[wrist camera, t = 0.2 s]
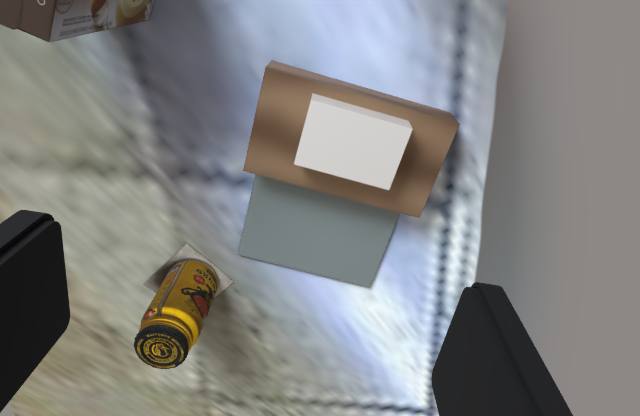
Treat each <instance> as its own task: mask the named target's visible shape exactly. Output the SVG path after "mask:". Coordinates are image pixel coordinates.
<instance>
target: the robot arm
mask: <svg viewBox="0 0 640 416" xmlns="http://www.w3.org/2000/svg"><path fill="white" fill-rule="evenodd" d="M69 320H70V308H69V299H68V289H67V280H66V270H65V260H64V251H63V241H62V232H61V226H60V224H59V223H58V222H56V221H54V218H53V217H52V215H50V214H47V213H41V212H34V211H28V210H20V211H18V212H16V213H15V214H14V215H12V216H11V217H9V218H8V219H6V220H5V221H4V222H2V223H1V224H0V412H1V411H2V410H3V408H4V407H5V406H6V405H7V403H8V402H9V401H10V400H11V398H12V397H13V396H14V395H15V393H16V392H17V391H18V390H19V388H20V387H21V386H22V385H23V383H24V382H25V381H26V380H27V378H28V377H29V376H30V374H31V373H32V372H33V371H34V369H35V368H36V367H37V366H38V364H39V363H40V362H41V361H42V359H43V358H44V357H45V356H46V354H47V353H48V352H49V351H50V349H51V348H52V347H53V345H54V344H55V343H56V342H57V340H58V339H59V338H60V337H61V335H62V334H63V333H64V332H65V330H66V328H67V326H68V324H69ZM432 387H433V391H434V395H435V399H436V404H437V408H438V412H439V416H573V415H572V413H571V411H570V409H569V408H568V406H567V404H566V402H565V400H564V398H563V397H562V395H561V393H560V391H559V389H558V387H557V386H556V384H555V382H554V380H553V378H552V377H551V375H550V373H549V371H548V370H547V368H546V366H545V364H544V362H543V361H542V359H541V357H540V355H539V353H538V351H537V349H536V348H535V346H534V344H533V342H532V340H531V339H530V337H529V335H528V333H527V331H526V330H525V328H524V326H523V324H522V322H521V321H520V319H519V317H518V315H517V313H516V311H515V310H514V308H513V306H512V304H511V302H510V301H509V299H508V297H507V295H506V293H505V292H504V290H503V288H502V287H501V286H497V285H491V284H485V283H478V282H476V283H474V284H473V285H472V286H471V287H466V288H465V289H464V290H463V292H462V295H461V297H460V300H459V303H458V305H457V308H456V310H455V313H454V316H453V318H452V321H451V324H450V326H449V329H448V332H447V334H446V337H445V339H444V342H443V345H442V347H441V350H440V353H439V355H438V358H437V360H436V363H435V366H434V368H433V372H432Z"/></svg>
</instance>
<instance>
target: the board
mask: <svg viewBox="0 0 640 416" xmlns="http://www.w3.org/2000/svg"><path fill="white" fill-rule="evenodd" d="M313 93H314V94H317V95H321V96H324V97H328V98H331V99H335V100H338V101H341V102H345V103H348V104H352V105H355V106H359V107H362V108H366V109H369V110H373V111H376V112H380V113H383V114H387V115H390V116H393V117H397V118H400V119H404V120H407V121H409V123H410V124H411V126H412V128H413V130H412V132H411V135H410V137H409V140H408V143H407V145H406V148H405V150H404V153H403V156H402V158H401V161H400V163H399V166H398V169H397V171H396V174H395V176H394V179H393V182H392V184H391V187H390V189H389V190H386V189H382V188H379V187H375V186H371V185H368V184H364V183H360V182H357V181H353V180H349V179H346V178H342V177H338V176H335V175H331V174H327V173H324V172H320V171H316V170H313V169H309V168H305V167H302V166H298V165H294V161H295V157H296V153H297V149H298V146H299V142H300V138H301V134H302V131H303V127H304V123H305V120H306V116H307V112H308V108H309V105H310V101H311V97H312V94H313ZM458 127H459V123H458V122H457V120H456V119H455V118H454V117H453V116H452V115H451V113H449V112H446V111H443V110H439V109H436V108H432V107H429V106H425V105H422V104H419V103H415V102H412V101H408V100H405V99H402V98H398V97H395V96H391V95H388V94H384V93H381V92H378V91H374V90H371V89H367V88H364V87H361V86H357V85H354V84H350V83H347V82H343V81H340V80H337V79H333V78H330V77H326V76H323V75H320V74H316V73H313V72H309V71H306V70H302V69H299V68H296V67H292V66H289V65H285V64H282V63H279V62H275V61H271V62H270V63H269V64H268V65H267V66H266V68H265V73H264V77H263V82H262V86H261V91H260V96H259V100H258V105H257V110H256V114H255V119H254V124H253V128H252V133H251V137H250V142H249V147H248V151H247V156H246V161H245V165H244V170H243V171H247V172H250V173H254V174H258V175H261V176H265V177H269V178H273V179H276V180H280V181H284V182H287V183H291V184H295V185H299V186H302V187H306V188H310V189H314V190H317V191H321V192H325V193H328V194H332V195H336V196H340V197H343V198H347V199H351V200H354V201H358V202H362V203H366V204H369V205H373V206H377V207H381V208H384V209H388V210H392V211H395V212H399V213H403V214H407V215H410V216H414V217H418V218H419V217H420V215H421V213H422V210H423V208H424V206H425V203H426V201H427V199H428V196H429V194H430V192H431V189H432V187H433V185H434V182H435V180H436V178H437V175H438V173H439V171H440V168H441V166H442V164H443V162H444V159H445V157H446V155H447V152H448V150H449V148H450V145H451V143H452V141H453V138H454V136H455V134H456V131H457V129H458Z"/></svg>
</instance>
